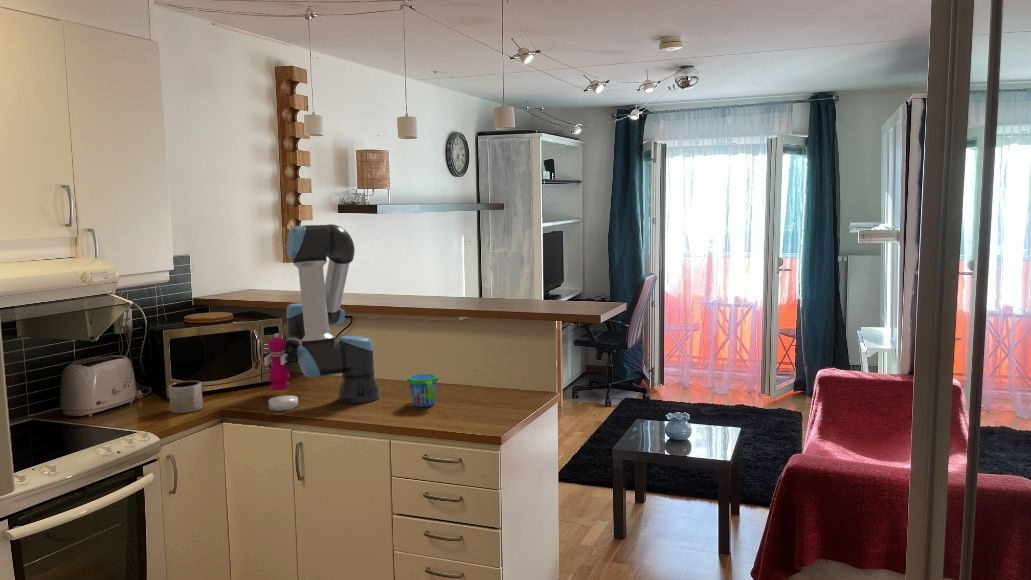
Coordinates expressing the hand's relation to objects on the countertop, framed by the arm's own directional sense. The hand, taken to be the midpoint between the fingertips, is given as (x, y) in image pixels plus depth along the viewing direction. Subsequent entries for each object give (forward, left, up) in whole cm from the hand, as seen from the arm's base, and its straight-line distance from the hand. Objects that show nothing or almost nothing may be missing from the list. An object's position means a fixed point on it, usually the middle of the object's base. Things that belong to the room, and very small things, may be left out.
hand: (273, 361), depth 271 cm
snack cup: (-45, -25, -18) cm, 55 cm away
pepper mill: (+3, -5, -11) cm, 12 cm away
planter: (+33, +11, -18) cm, 39 cm away
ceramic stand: (+2, -5, -18) cm, 18 cm away
